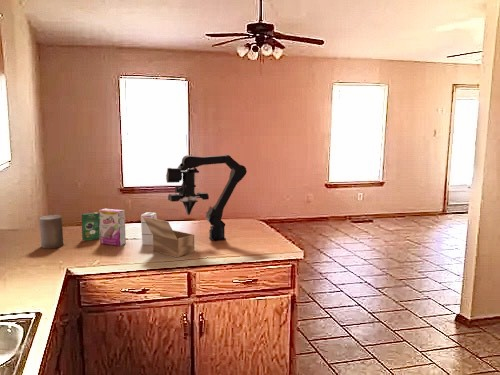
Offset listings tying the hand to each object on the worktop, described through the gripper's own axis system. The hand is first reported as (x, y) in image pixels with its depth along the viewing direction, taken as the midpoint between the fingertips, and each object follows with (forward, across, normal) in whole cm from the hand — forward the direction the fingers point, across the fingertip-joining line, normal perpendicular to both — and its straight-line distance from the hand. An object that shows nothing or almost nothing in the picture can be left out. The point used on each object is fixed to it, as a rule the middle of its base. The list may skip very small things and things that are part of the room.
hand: (188, 214), depth 235 cm
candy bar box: (+14, +33, -11) cm, 38 cm away
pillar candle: (+15, +59, -21) cm, 64 cm away
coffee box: (+14, +41, -25) cm, 50 cm away
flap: (+1, +19, +17) cm, 26 cm away
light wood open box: (+13, +12, +14) cm, 23 cm away
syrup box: (+14, +17, -5) cm, 23 cm away
